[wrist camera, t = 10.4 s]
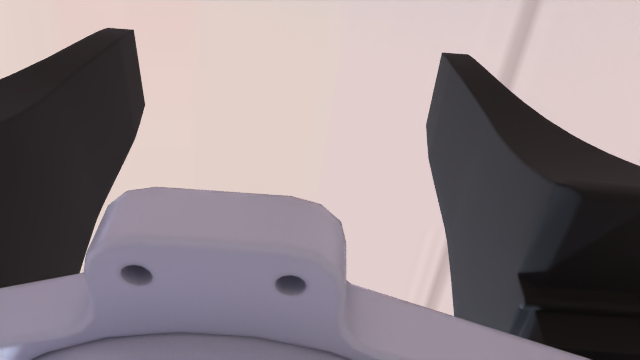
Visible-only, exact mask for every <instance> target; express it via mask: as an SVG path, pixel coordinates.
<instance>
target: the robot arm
mask: <svg viewBox="0 0 640 360" xmlns="http://www.w3.org/2000/svg"><path fill="white" fill-rule="evenodd" d="M144 107H145V102H144V95H143V89H142V82H141V75H140V69H139V62H138V56H137V49H136V42H135V36H134V30H128V29H115V28H106V29H103V30H100V31H98V32H96V33H94V34H92V35H90V36H88V37H86V38H84V39H82V40H80V41H78V42H76V43H74V44H72V45H71V46H69V47H67V48H65V49H63V50H61V51H59V52H57V53H55V54H54V55H52V56H50V57H48V58H46V59H44V60H42V61H40V62H37V63H35V64H33V65H31V66H29V67H27V68H25V69H23V70H20V71H18V72H16V73H14V74H12V75H10V76H7V77H5V78H2V79H0V360H640V166H638V165H635V164H633V163H630V162H628V161H625V160H623V159H620V158H618V157H616V156H613V155H611V154H609V153H607V152H605V151H603V150H600V149H598V148H596V147H594V146H592V145H590V144H588V143H586V142H584V141H582V140H581V139H579V138H577V137H575V136H573V135H571V134H570V133H568V132H567V131H565V130H563V129H562V128H560V127H558V126H557V125H555V124H553V123H552V122H550V121H549V120H547V119H546V118H544V117H543V116H542V115H540V114H539V113H538V112H536V111H535V110H534V109H532V108H531V107H530V106H528V105H527V104H526V103H524V102H523V101H522V100H521V99H519V98H518V97H517V96H516V95H514V94H513V93H512V92H511V91H510V90H508V89H507V88H506V87H505V86H504V85H503V84H502V83H500V82H499V81H498V80H497V79H496V78H495V77H494V76H493V75H492V74H490V73H489V72H488V71H487V70H486V69H485V68H484V67H483V66H482V65H480V64H479V63H478V62H477V61H476V60H475V59H473V58H472V57H471V56H469V55H467V54H453V53H442V56H441V60H440V65H439V69H438V74H437V78H436V83H435V87H434V92H433V96H432V101H431V105H430V110H429V115H428V119H427V124H426V130H427V145H428V157H429V162H430V167H431V171H432V176H433V180H434V185H435V189H436V193H437V197H438V202H439V206H440V210H441V214H442V219H443V223H444V227H445V232H446V238H447V244H448V253H449V263H450V272H451V283H452V295H453V307H454V316H451V315H448V314H445V313H442V312H439V311H435V310H432V309H429V308H426V307H423V306H419V305H416V304H413V303H410V302H407V301H404V300H400V299H397V298H394V297H391V296H388V295H385V294H381V293H378V292H375V291H372V290H369V289H365V288H362V287H359V286H356V285H353V284H351V283H349V282H348V281H347V280H346V240H345V236H344V232H343V228H342V224H341V221H340V220H338V219H337V218H336V217H335V216H334V215H333V214H332V213H330V212H329V211H328V210H327V209H326V208H325V207H323V206H322V205H321V204H318V203H314V202H311V201H307V200H303V199H300V198H296V197H292V196H282V195H268V194H253V193H239V192H224V191H210V190H195V189H181V188H167V187H151V188H144V189H137V190H129V191H126V192H125V193H123V194H122V195H121V196H120V197H118V198H117V199H116V200H115V201H113V202H112V203H111V204H110V205H108V207H107V209H106V211H105V214H104V216H103V218H102V220H101V222H100V224H99V227H98V229H97V231H96V233H95V235H94V238H93V240H92V242H91V244H90V246H89V249H88V251H87V253H86V250H87V247H88V244H89V241H90V238H91V235H92V232H93V229H94V226H95V223H96V220H97V218H98V216H99V213H100V211H101V208H102V206H103V204H104V202H105V200H106V198H107V196H108V194H109V192H110V190H111V187H112V185H113V183H114V181H115V179H116V177H117V175H118V173H119V171H120V169H121V167H122V165H123V163H124V161H125V159H126V157H127V155H128V152H129V150H130V148H131V146H132V144H133V142H134V140H135V137H136V134H137V131H138V128H139V125H140V121H141V117H142V114H143V110H144ZM85 253H86V258H85V267H84V273H80V270H81V267H82V263H83V260H84V257H85Z"/></svg>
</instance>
